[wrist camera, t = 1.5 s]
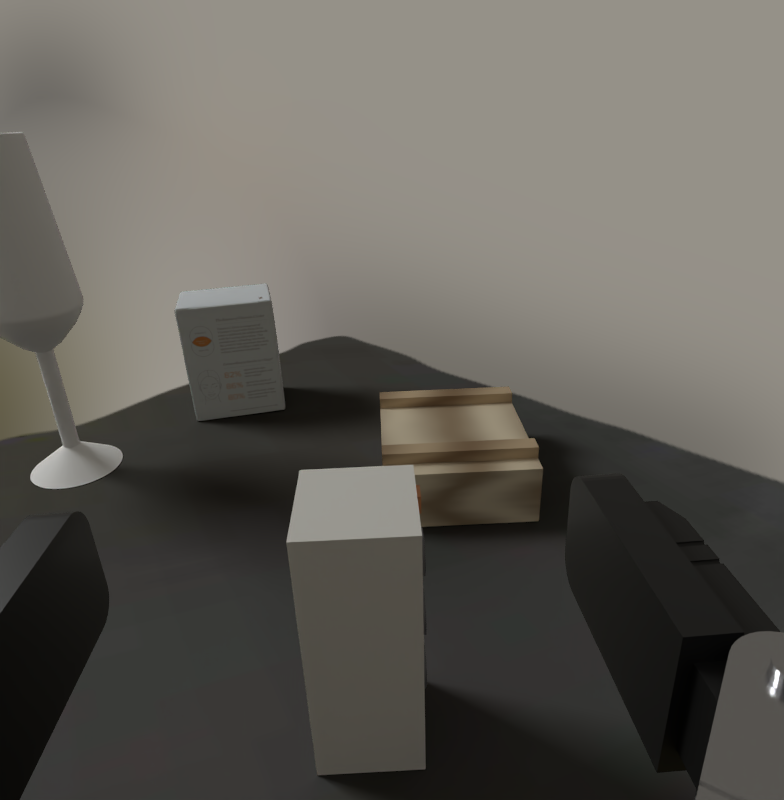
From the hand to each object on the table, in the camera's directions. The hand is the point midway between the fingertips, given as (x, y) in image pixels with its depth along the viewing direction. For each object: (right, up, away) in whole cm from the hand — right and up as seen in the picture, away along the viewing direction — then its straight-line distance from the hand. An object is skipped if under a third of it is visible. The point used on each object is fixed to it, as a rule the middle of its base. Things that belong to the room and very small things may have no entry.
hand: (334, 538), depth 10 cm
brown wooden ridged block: (+5, -3, +36) cm, 36 cm away
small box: (-13, +2, +48) cm, 50 cm away
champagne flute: (-24, -3, +39) cm, 46 cm away
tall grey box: (0, -12, +17) cm, 21 cm away
